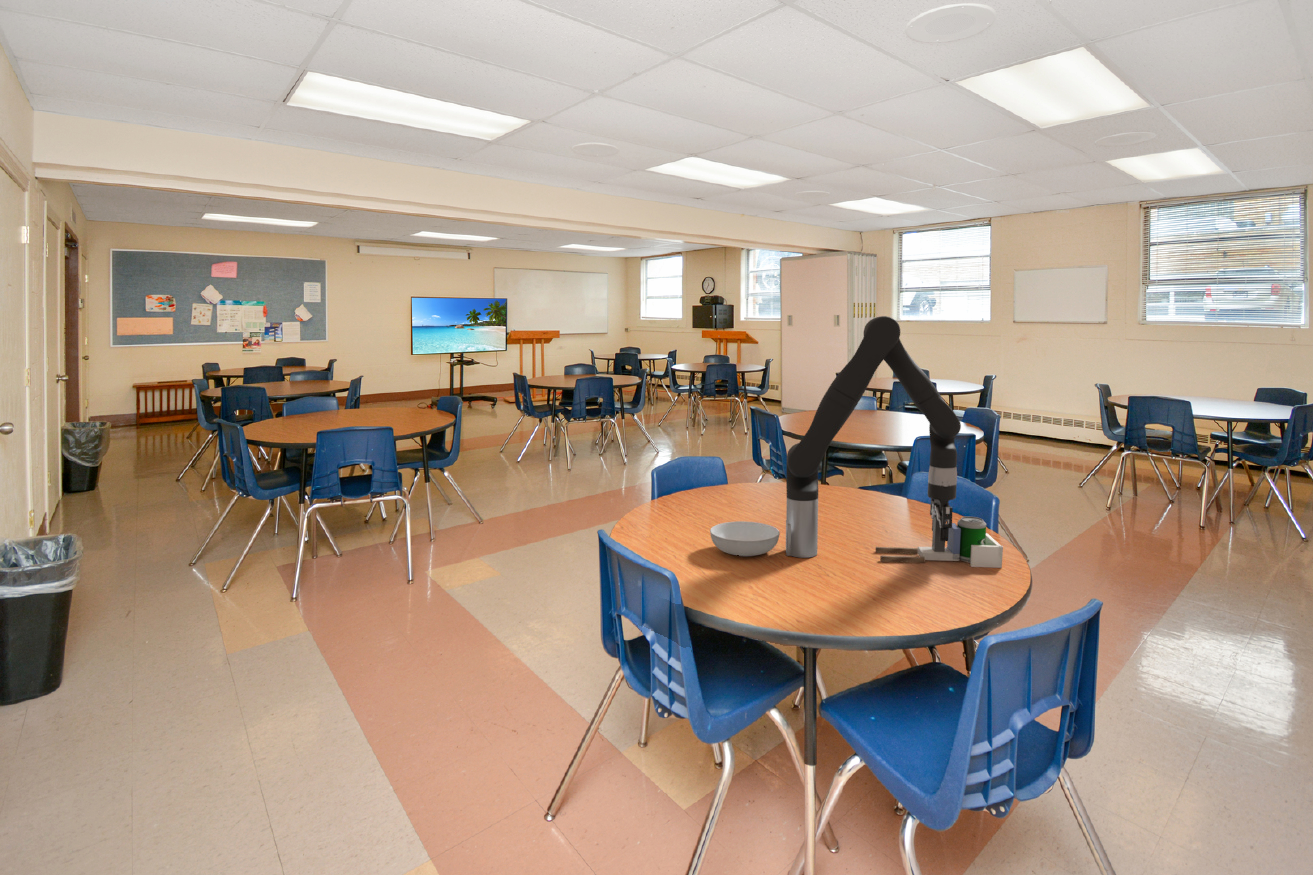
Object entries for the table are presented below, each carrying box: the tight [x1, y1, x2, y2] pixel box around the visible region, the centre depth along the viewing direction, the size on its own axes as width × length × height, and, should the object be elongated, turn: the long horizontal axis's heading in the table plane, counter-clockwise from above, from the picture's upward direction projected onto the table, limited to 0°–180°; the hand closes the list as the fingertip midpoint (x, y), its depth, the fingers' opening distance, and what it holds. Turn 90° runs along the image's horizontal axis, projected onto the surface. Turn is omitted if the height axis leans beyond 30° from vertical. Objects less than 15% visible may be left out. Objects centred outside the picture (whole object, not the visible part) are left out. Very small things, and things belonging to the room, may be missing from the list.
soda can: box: [956, 516, 987, 563], centre depth 192 cm, size 8×8×12 cm
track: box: [875, 546, 926, 564], centre depth 196 cm, size 12×9×2 cm
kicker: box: [917, 516, 961, 562], centre depth 193 cm, size 10×6×12 cm, turn 81°
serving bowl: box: [709, 520, 781, 557], centre depth 203 cm, size 21×21×7 cm
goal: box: [969, 532, 1004, 569], centre depth 192 cm, size 8×13×6 cm, turn 171°
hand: (939, 536), depth 193 cm, fingers open, 8 cm apart
